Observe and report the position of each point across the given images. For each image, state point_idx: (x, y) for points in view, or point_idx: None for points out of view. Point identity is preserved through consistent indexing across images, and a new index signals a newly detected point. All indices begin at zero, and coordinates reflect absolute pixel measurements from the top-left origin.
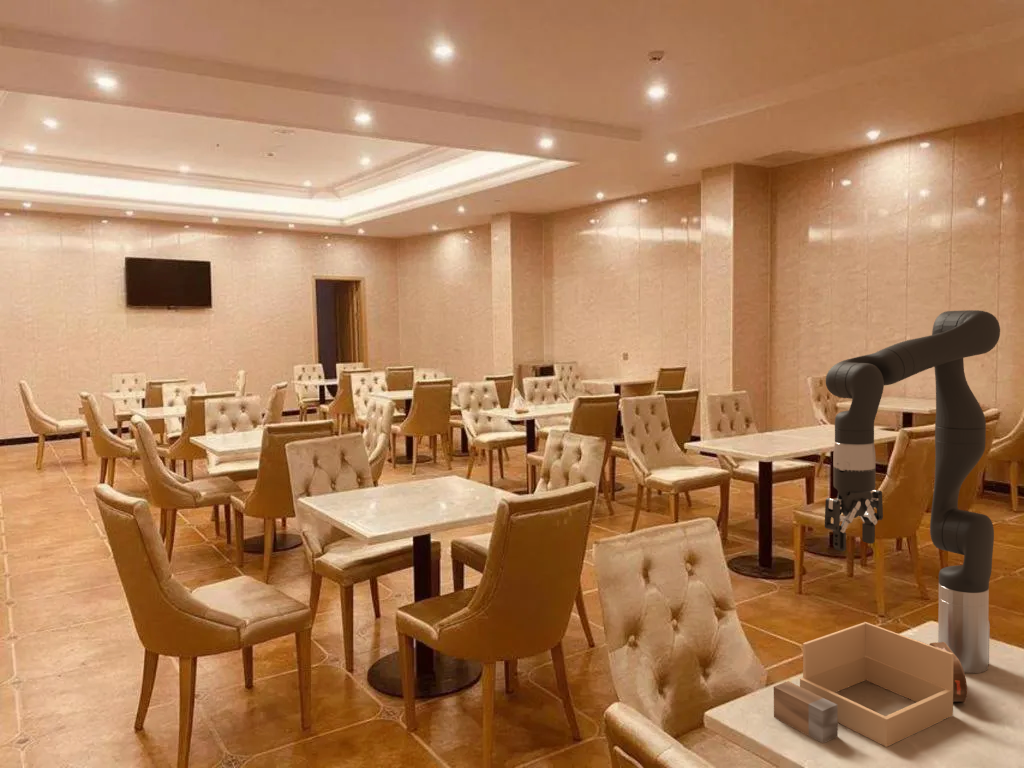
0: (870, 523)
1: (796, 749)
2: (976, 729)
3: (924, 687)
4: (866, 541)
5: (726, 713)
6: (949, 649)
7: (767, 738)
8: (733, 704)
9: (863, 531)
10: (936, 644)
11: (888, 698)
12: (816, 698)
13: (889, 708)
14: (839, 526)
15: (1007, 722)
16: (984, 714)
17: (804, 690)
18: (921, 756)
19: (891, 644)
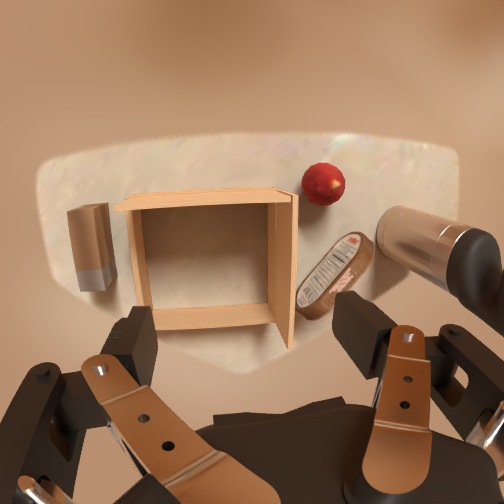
0: (377, 373)
1: (65, 270)
2: (264, 333)
3: (272, 286)
4: (336, 309)
5: (47, 171)
6: (352, 284)
7: (52, 238)
8: (65, 156)
9: (356, 316)
10: (356, 263)
11: (247, 243)
12: (93, 265)
13: (224, 261)
14: (98, 423)
15: (304, 337)
16: (302, 318)
17: (93, 241)
18: (167, 339)
19: (285, 249)
